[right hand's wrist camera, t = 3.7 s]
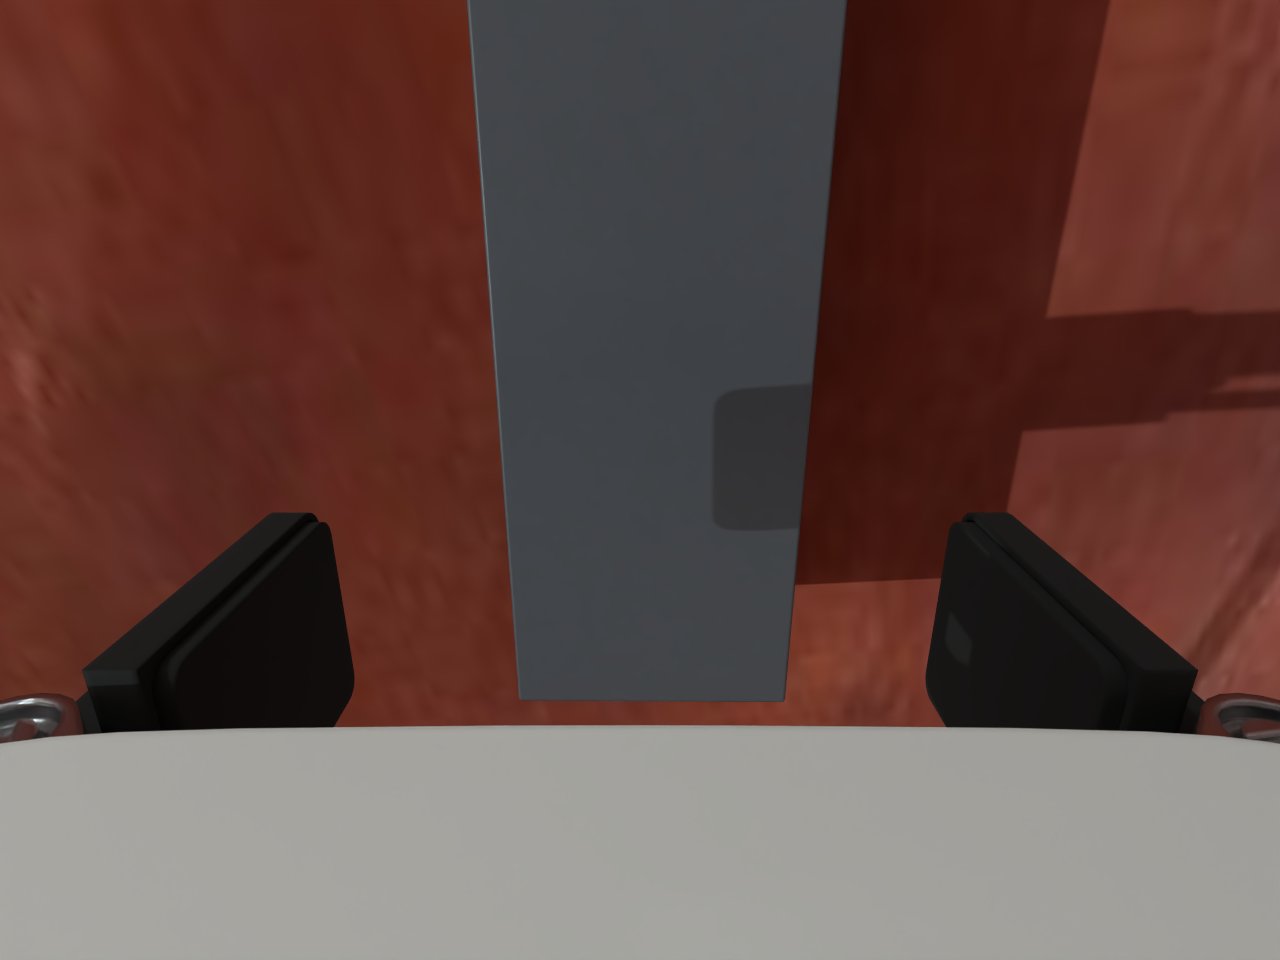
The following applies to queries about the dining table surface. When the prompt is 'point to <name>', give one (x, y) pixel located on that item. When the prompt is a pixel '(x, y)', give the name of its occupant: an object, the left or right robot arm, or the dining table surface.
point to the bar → (654, 329)
